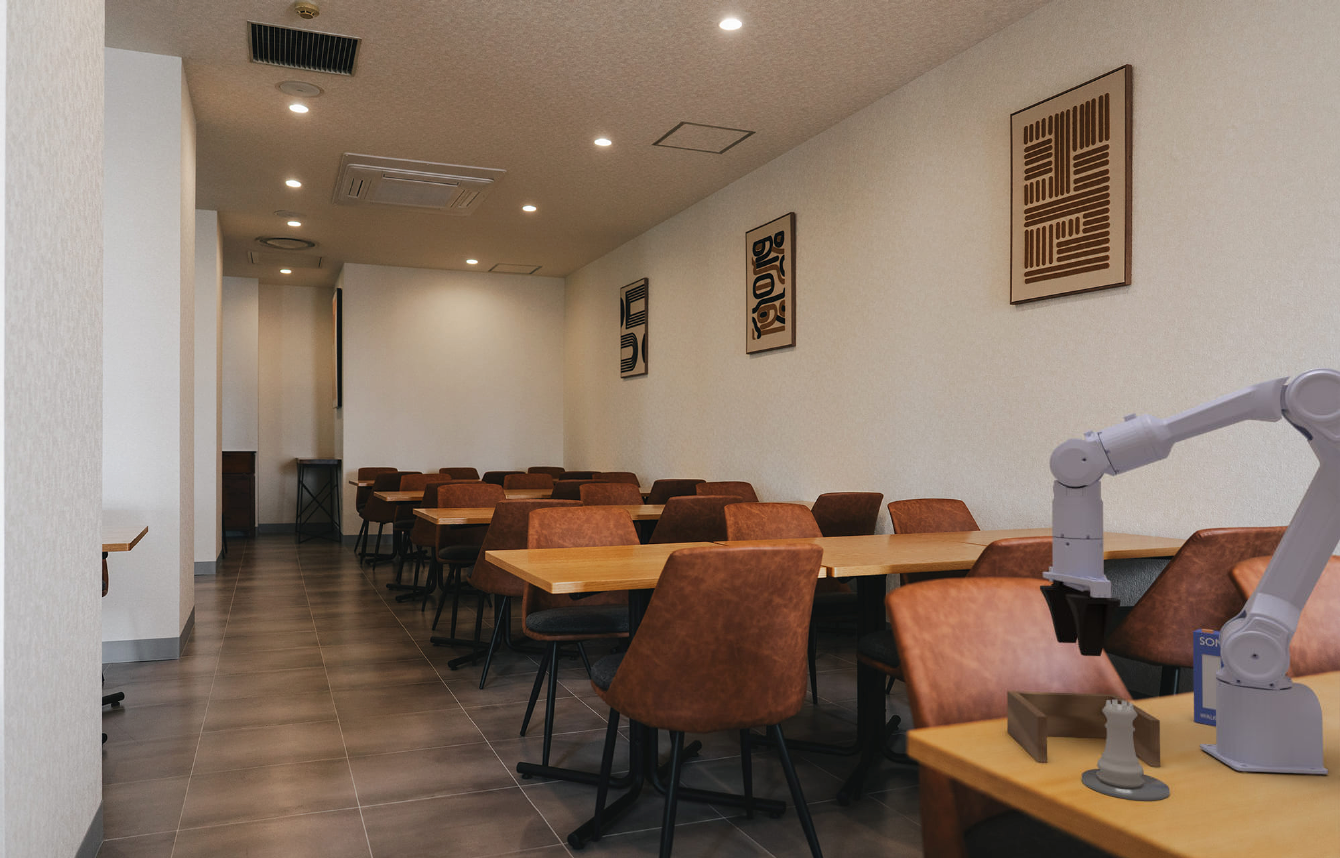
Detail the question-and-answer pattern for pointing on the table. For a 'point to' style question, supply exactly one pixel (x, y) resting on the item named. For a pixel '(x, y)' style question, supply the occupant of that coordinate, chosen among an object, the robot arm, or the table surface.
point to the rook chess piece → (1120, 748)
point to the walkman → (1205, 674)
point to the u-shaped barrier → (1073, 722)
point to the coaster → (1146, 792)
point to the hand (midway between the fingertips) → (1078, 648)
